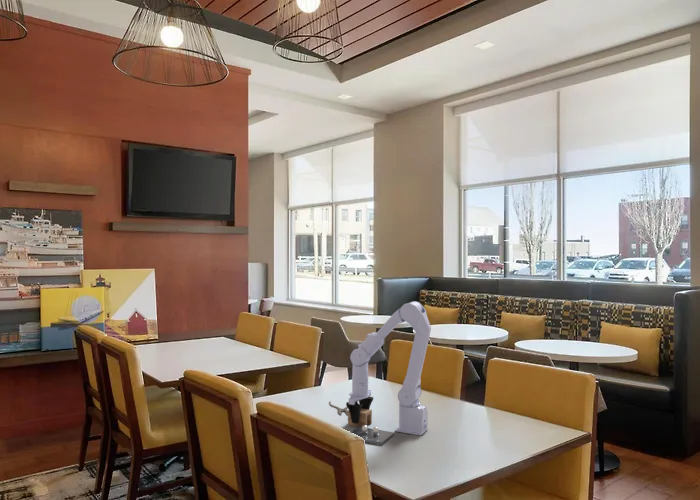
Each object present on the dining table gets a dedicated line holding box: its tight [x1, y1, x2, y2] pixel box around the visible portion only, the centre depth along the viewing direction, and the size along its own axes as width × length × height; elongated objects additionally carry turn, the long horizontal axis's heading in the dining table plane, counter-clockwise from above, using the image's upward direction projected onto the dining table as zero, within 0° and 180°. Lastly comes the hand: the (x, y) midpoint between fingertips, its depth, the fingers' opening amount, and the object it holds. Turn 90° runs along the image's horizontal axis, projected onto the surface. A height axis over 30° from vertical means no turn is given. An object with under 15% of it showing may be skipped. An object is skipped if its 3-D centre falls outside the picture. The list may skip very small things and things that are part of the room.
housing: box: [347, 408, 373, 428], centre depth 191 cm, size 7×5×5 cm
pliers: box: [328, 400, 349, 416], centre depth 212 cm, size 10×1×20 cm
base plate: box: [351, 424, 396, 446], centre depth 177 cm, size 13×11×4 cm
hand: (359, 420), depth 191 cm, fingers open, 7 cm apart
